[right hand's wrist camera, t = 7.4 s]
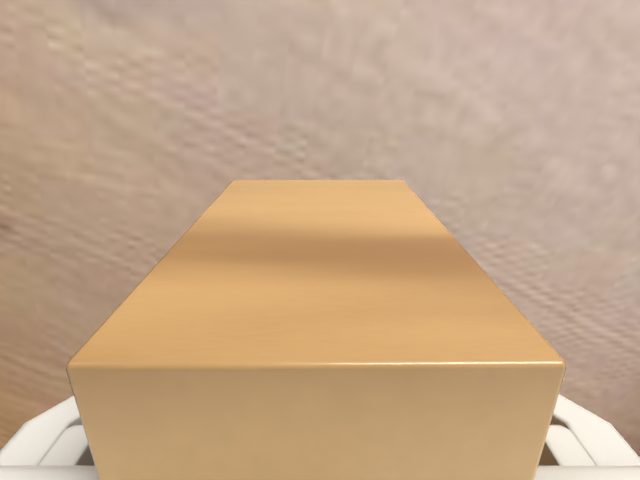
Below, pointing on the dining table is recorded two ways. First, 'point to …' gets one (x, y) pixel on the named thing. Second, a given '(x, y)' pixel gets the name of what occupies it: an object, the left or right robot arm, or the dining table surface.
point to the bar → (316, 349)
